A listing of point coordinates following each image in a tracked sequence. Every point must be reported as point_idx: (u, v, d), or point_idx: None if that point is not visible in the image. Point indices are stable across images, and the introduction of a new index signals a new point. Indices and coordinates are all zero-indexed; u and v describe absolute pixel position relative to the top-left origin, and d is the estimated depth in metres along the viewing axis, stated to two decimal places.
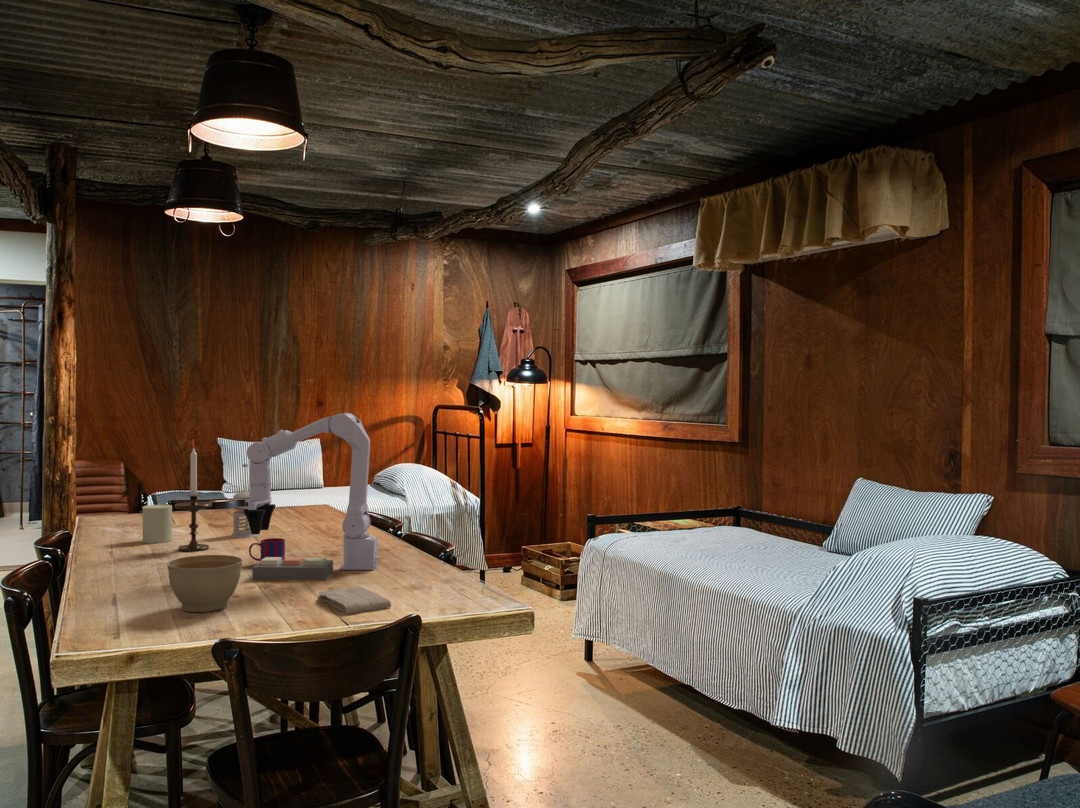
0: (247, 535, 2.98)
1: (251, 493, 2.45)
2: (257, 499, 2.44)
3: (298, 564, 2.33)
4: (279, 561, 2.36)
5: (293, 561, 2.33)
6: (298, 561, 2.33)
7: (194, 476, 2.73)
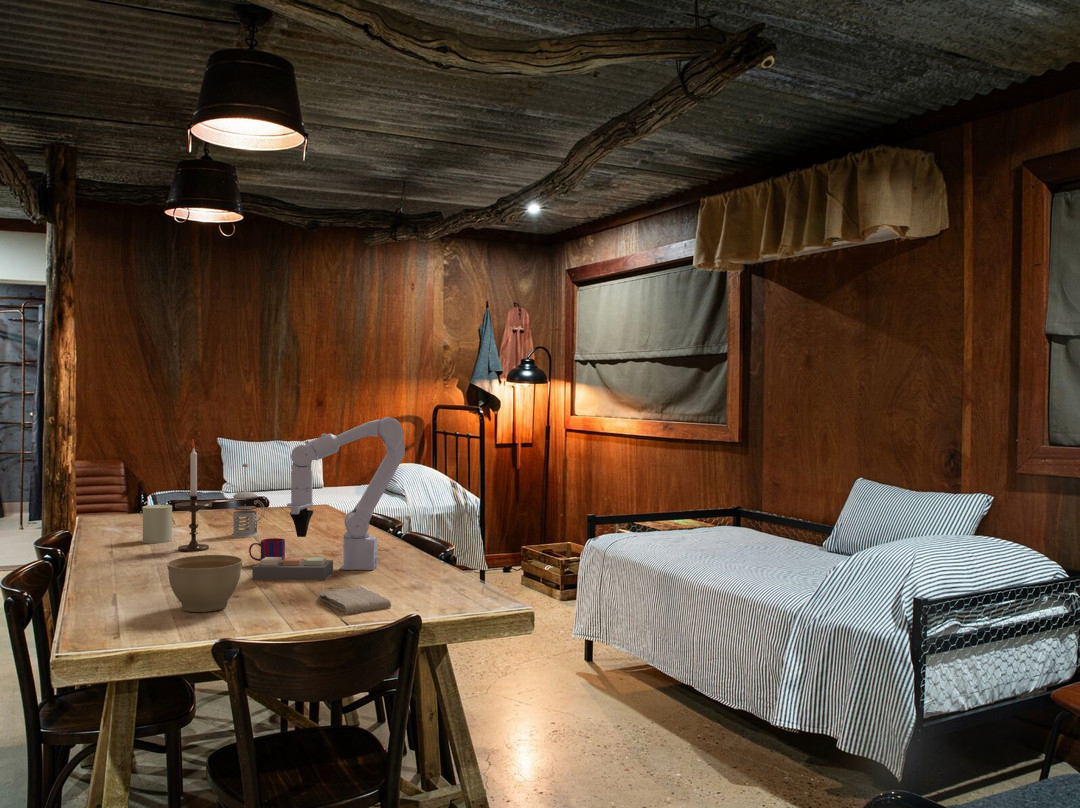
0: (247, 535, 2.98)
1: (293, 497, 2.41)
2: (299, 503, 2.41)
3: (298, 564, 2.33)
4: (279, 561, 2.36)
5: (293, 561, 2.33)
6: (298, 561, 2.33)
7: (194, 476, 2.73)
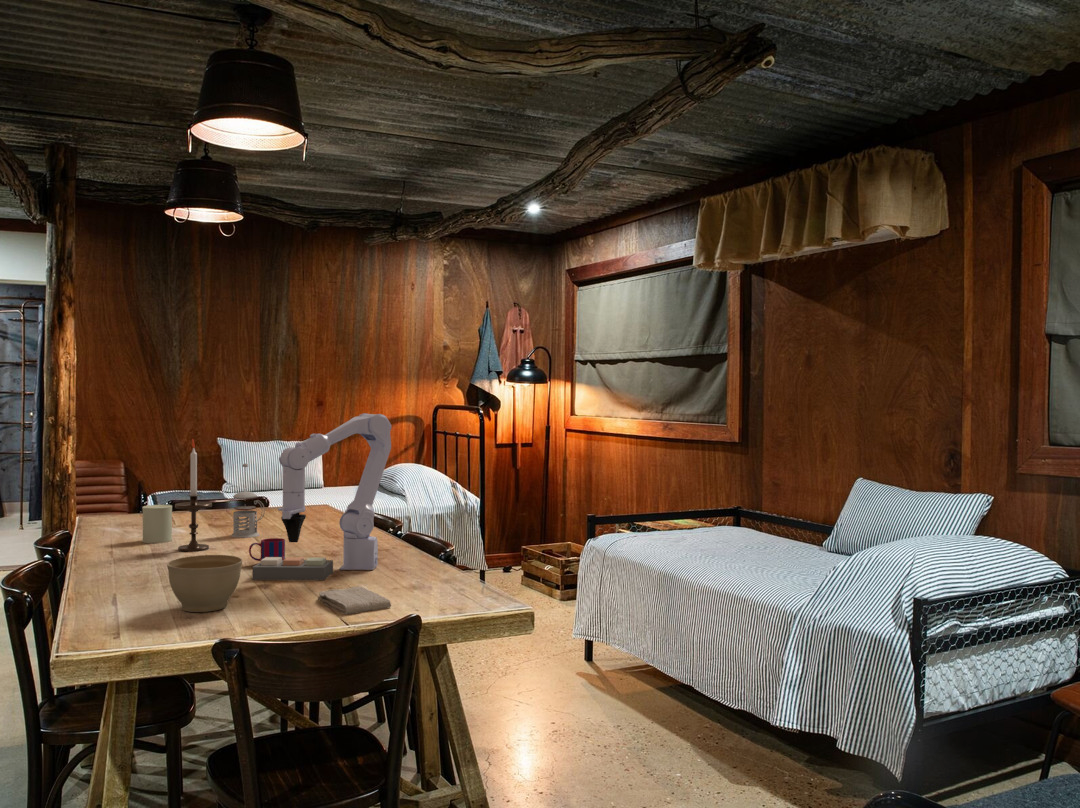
0: (247, 535, 2.98)
1: (285, 501, 2.33)
2: (291, 507, 2.33)
3: (298, 564, 2.33)
4: (279, 561, 2.36)
5: (293, 561, 2.33)
6: (298, 561, 2.33)
7: (194, 476, 2.73)
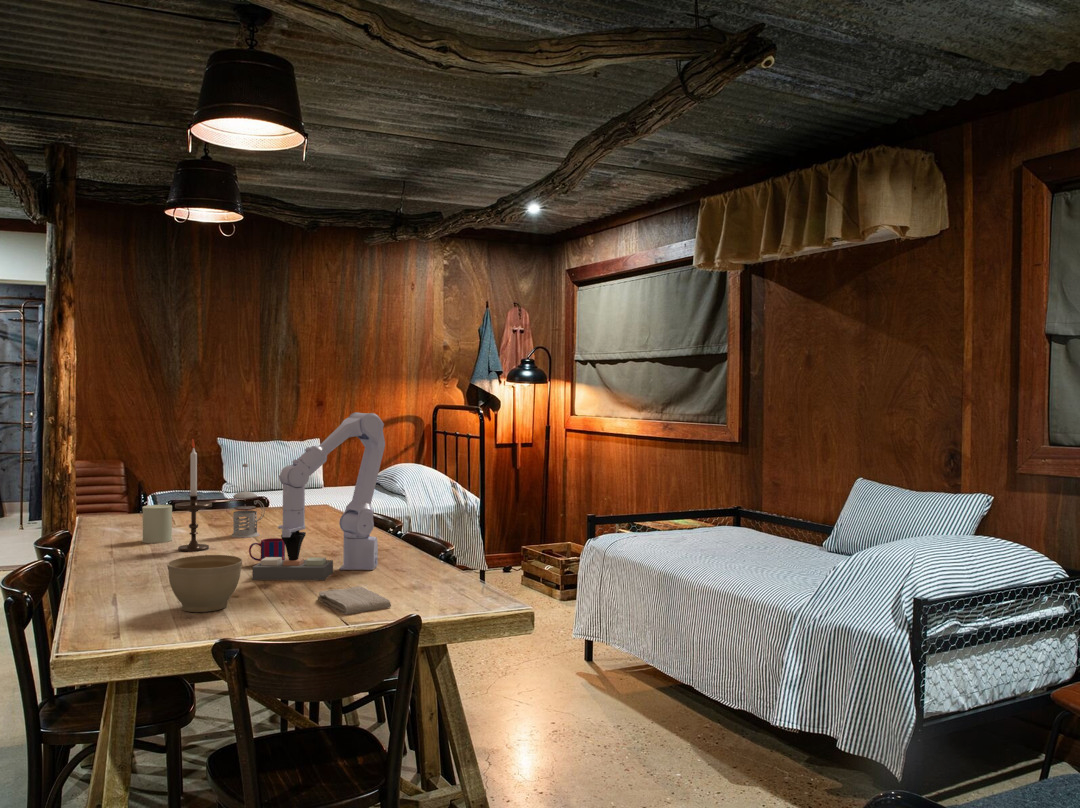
0: (247, 535, 2.98)
1: (285, 519, 2.33)
2: (291, 525, 2.33)
3: (298, 565, 2.33)
4: (279, 561, 2.36)
5: (293, 562, 2.33)
6: (298, 562, 2.33)
7: (194, 476, 2.73)
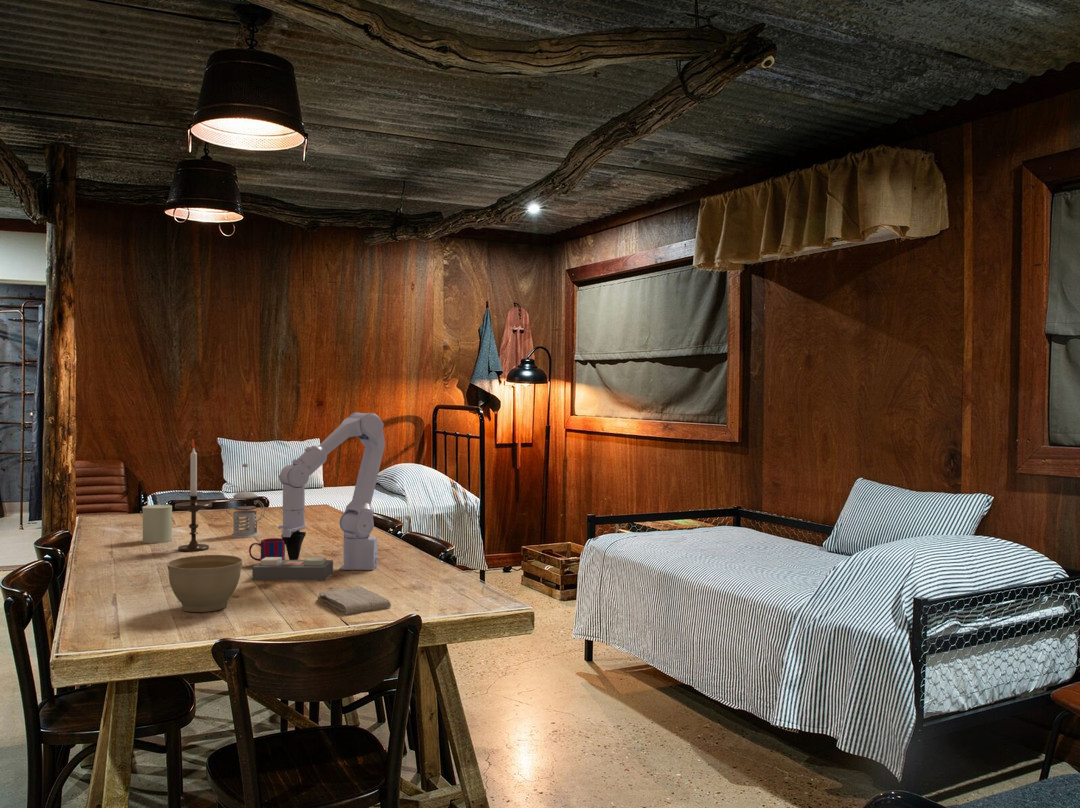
0: (247, 535, 2.98)
1: (285, 519, 2.33)
2: (291, 525, 2.33)
3: None
4: (279, 561, 2.36)
5: (293, 565, 2.33)
6: (298, 565, 2.33)
7: (194, 476, 2.73)
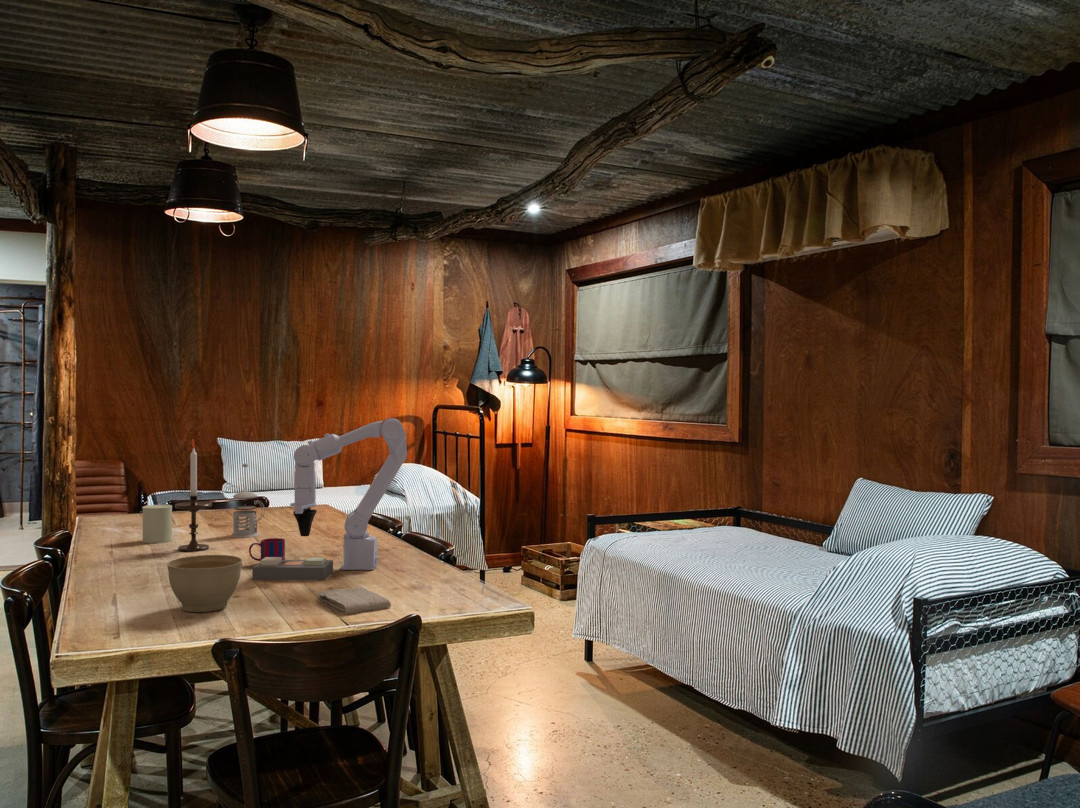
0: (247, 535, 2.98)
1: (296, 497, 2.43)
2: (303, 503, 2.42)
3: None
4: (279, 561, 2.36)
5: (293, 565, 2.33)
6: (298, 565, 2.33)
7: (194, 476, 2.73)
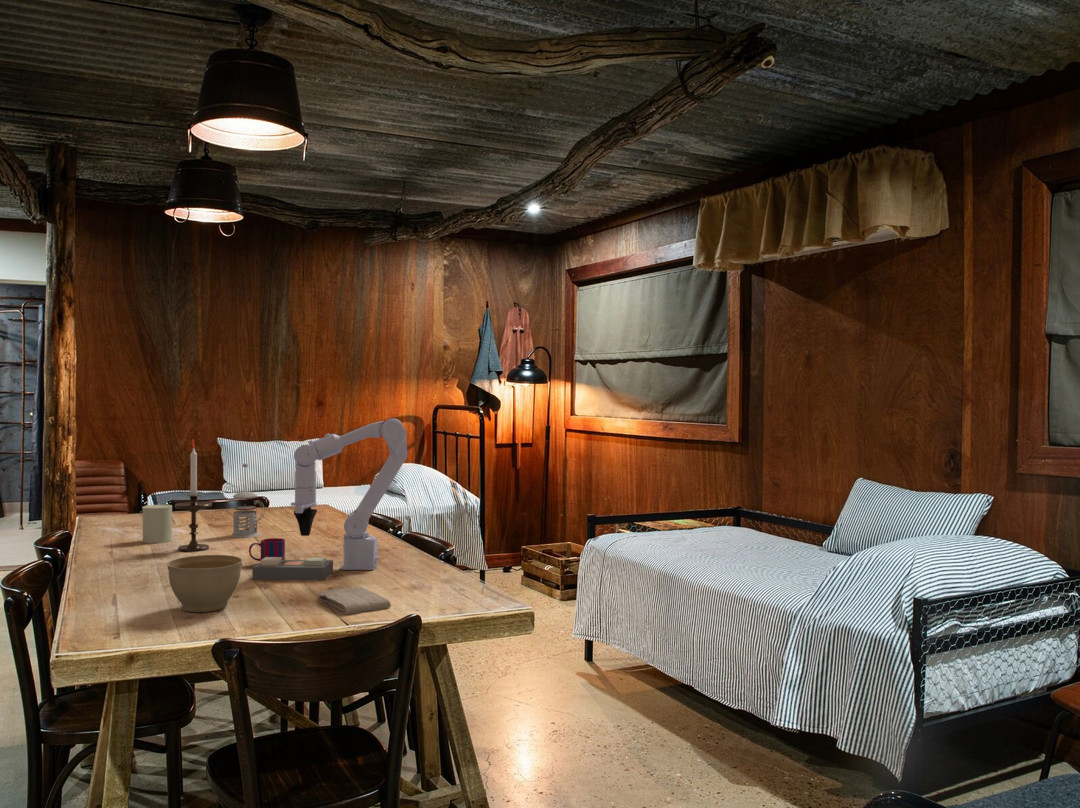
0: (247, 535, 2.98)
1: (297, 496, 2.43)
2: (303, 502, 2.43)
3: None
4: (279, 561, 2.36)
5: (293, 565, 2.33)
6: (298, 565, 2.33)
7: (194, 476, 2.73)
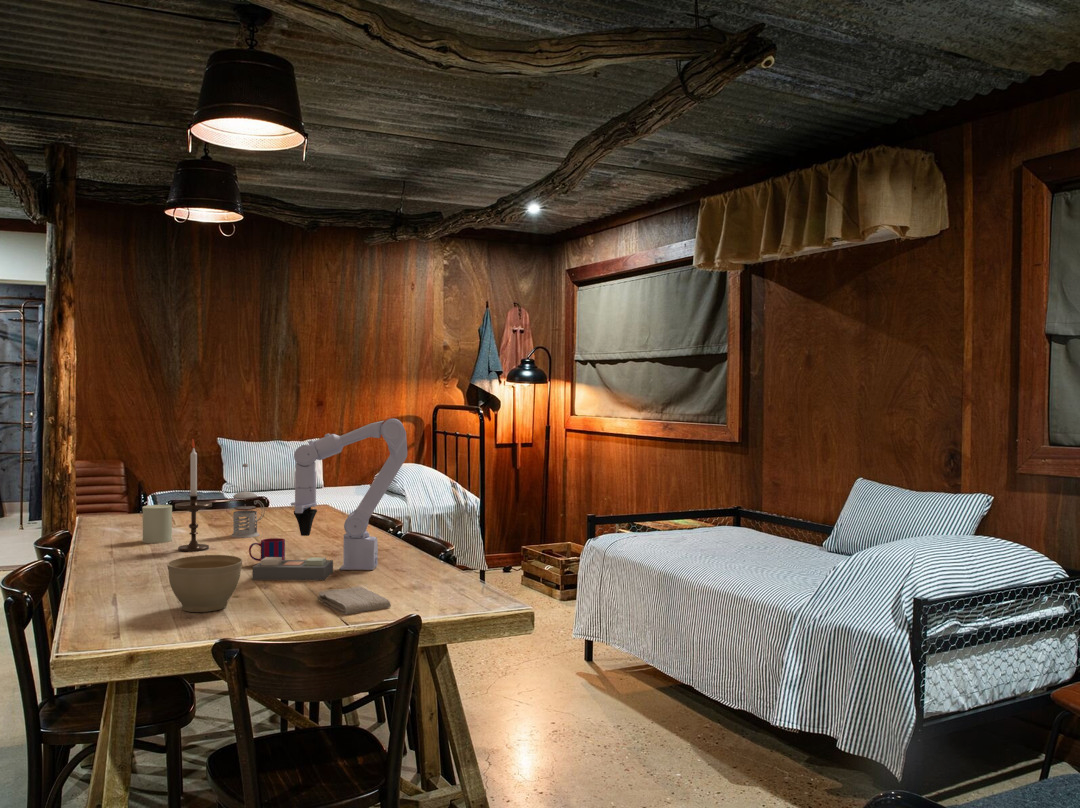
0: (247, 535, 2.98)
1: (297, 496, 2.43)
2: (303, 502, 2.43)
3: None
4: (279, 561, 2.36)
5: (293, 565, 2.33)
6: (298, 565, 2.33)
7: (194, 476, 2.73)
